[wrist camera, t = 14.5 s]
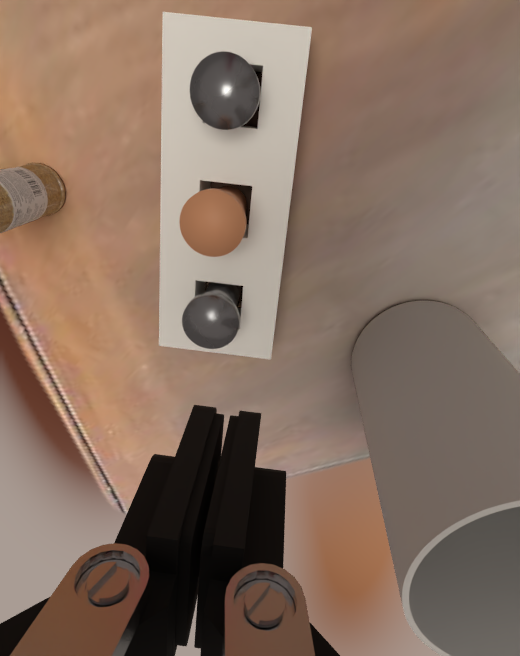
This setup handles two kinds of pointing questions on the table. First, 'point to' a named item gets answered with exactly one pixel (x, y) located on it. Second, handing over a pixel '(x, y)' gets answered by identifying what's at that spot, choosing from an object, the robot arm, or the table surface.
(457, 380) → the cylinder vase
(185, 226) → the rust plug
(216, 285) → the grey plug
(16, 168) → the sprinkles bottle
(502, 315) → the table surface
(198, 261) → the block
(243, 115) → the grey plug
